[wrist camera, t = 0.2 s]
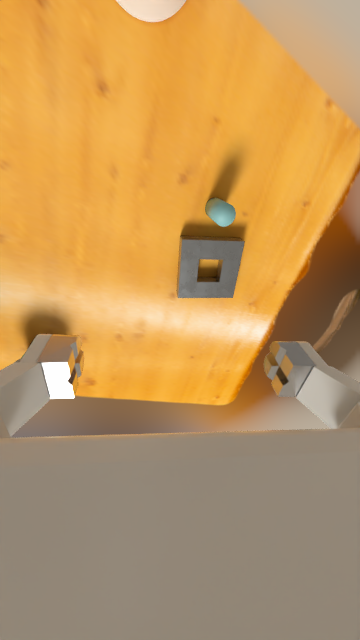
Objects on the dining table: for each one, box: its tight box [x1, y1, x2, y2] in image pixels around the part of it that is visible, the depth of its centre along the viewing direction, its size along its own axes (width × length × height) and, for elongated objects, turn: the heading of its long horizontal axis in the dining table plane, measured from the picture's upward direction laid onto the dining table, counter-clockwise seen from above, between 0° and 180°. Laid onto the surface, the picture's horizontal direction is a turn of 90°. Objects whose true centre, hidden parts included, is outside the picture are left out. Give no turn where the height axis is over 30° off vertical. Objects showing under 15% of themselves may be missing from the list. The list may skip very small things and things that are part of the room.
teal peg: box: [205, 198, 236, 227], centre depth 49 cm, size 4×4×8 cm
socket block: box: [177, 236, 245, 298], centre depth 58 cm, size 14×14×3 cm
